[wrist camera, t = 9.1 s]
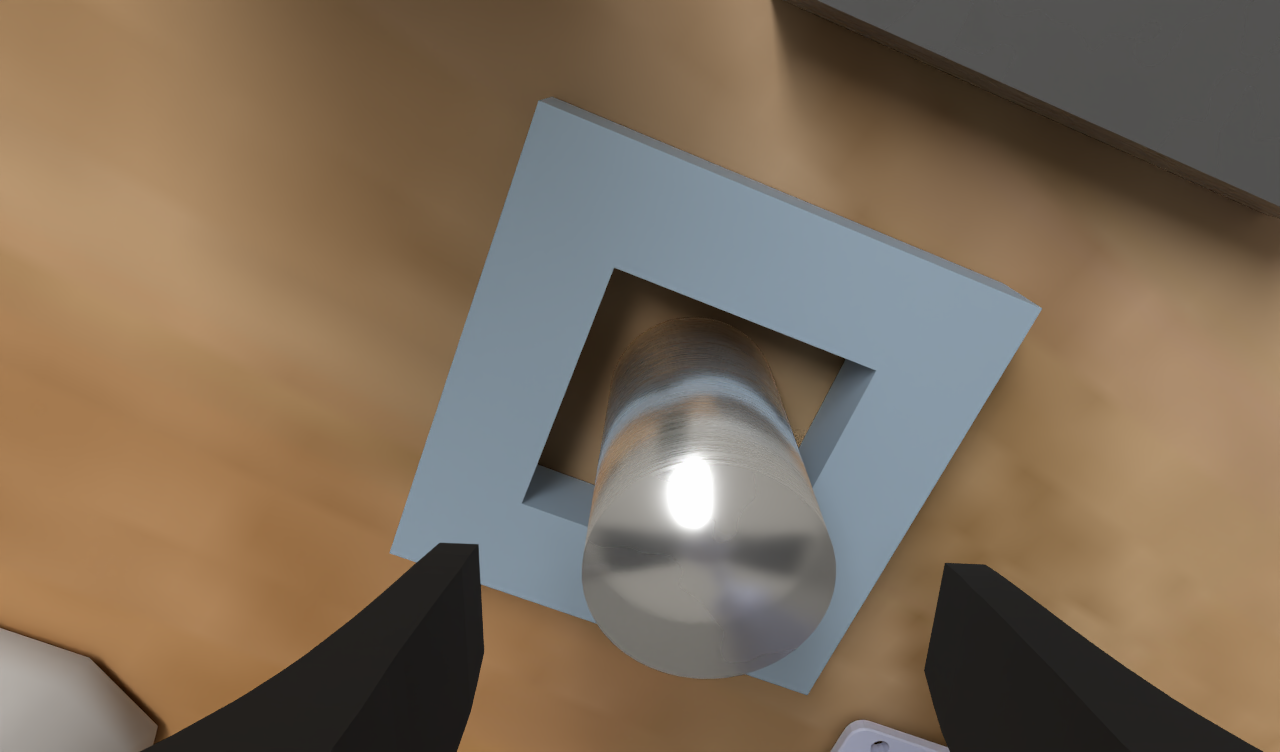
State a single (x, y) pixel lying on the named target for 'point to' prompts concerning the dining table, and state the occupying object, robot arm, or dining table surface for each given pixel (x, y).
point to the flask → (63, 703)
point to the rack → (731, 281)
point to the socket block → (1113, 73)
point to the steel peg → (703, 510)
